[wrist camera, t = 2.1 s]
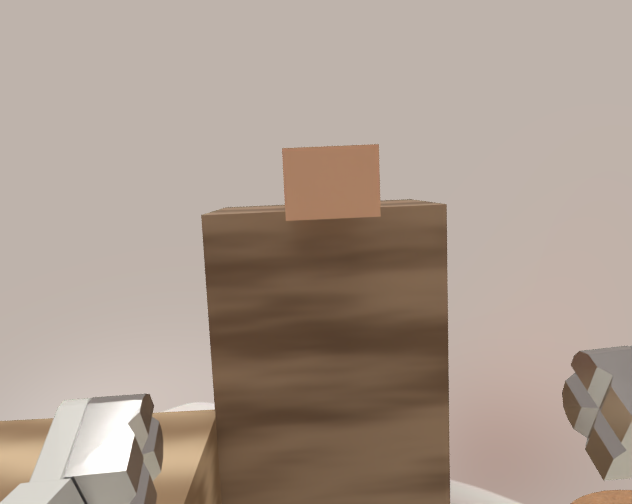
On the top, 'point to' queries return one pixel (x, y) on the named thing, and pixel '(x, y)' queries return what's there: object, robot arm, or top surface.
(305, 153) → the long slim case
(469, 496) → the top surface
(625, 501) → the lidded jar
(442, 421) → the brown wooden stepped block
